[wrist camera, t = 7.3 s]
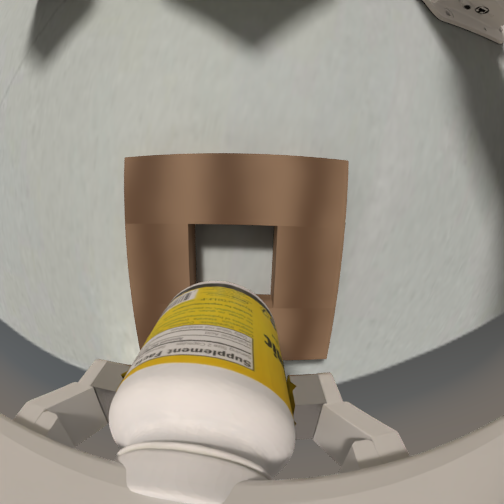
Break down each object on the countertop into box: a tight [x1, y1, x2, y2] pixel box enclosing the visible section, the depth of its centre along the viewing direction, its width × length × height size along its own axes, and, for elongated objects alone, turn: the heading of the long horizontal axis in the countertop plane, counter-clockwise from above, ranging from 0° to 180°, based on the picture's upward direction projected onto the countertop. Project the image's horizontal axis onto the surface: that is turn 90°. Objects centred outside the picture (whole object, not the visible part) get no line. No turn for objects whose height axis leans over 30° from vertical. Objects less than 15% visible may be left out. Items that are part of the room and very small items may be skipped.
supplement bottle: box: [109, 281, 295, 504], centre depth 8 cm, size 5×5×10 cm
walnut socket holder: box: [124, 153, 348, 360], centre depth 24 cm, size 18×18×3 cm
